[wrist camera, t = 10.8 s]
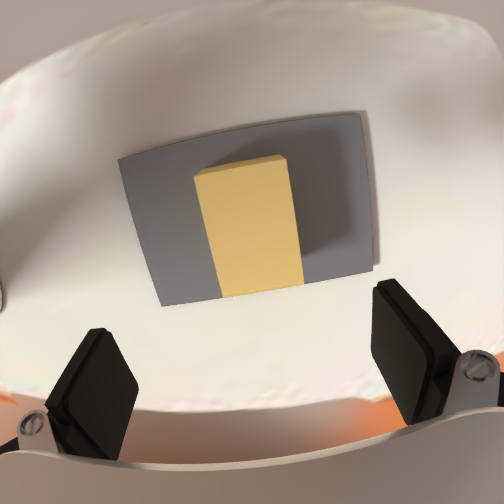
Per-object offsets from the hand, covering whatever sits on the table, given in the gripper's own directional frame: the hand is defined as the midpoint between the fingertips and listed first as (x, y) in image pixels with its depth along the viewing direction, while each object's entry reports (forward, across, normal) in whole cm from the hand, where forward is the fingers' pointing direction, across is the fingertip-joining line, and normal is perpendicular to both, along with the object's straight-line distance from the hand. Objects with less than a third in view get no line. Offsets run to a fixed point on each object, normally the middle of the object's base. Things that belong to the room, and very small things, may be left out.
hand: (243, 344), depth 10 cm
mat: (+17, -1, 0) cm, 17 cm away
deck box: (+16, -1, 0) cm, 16 cm away
